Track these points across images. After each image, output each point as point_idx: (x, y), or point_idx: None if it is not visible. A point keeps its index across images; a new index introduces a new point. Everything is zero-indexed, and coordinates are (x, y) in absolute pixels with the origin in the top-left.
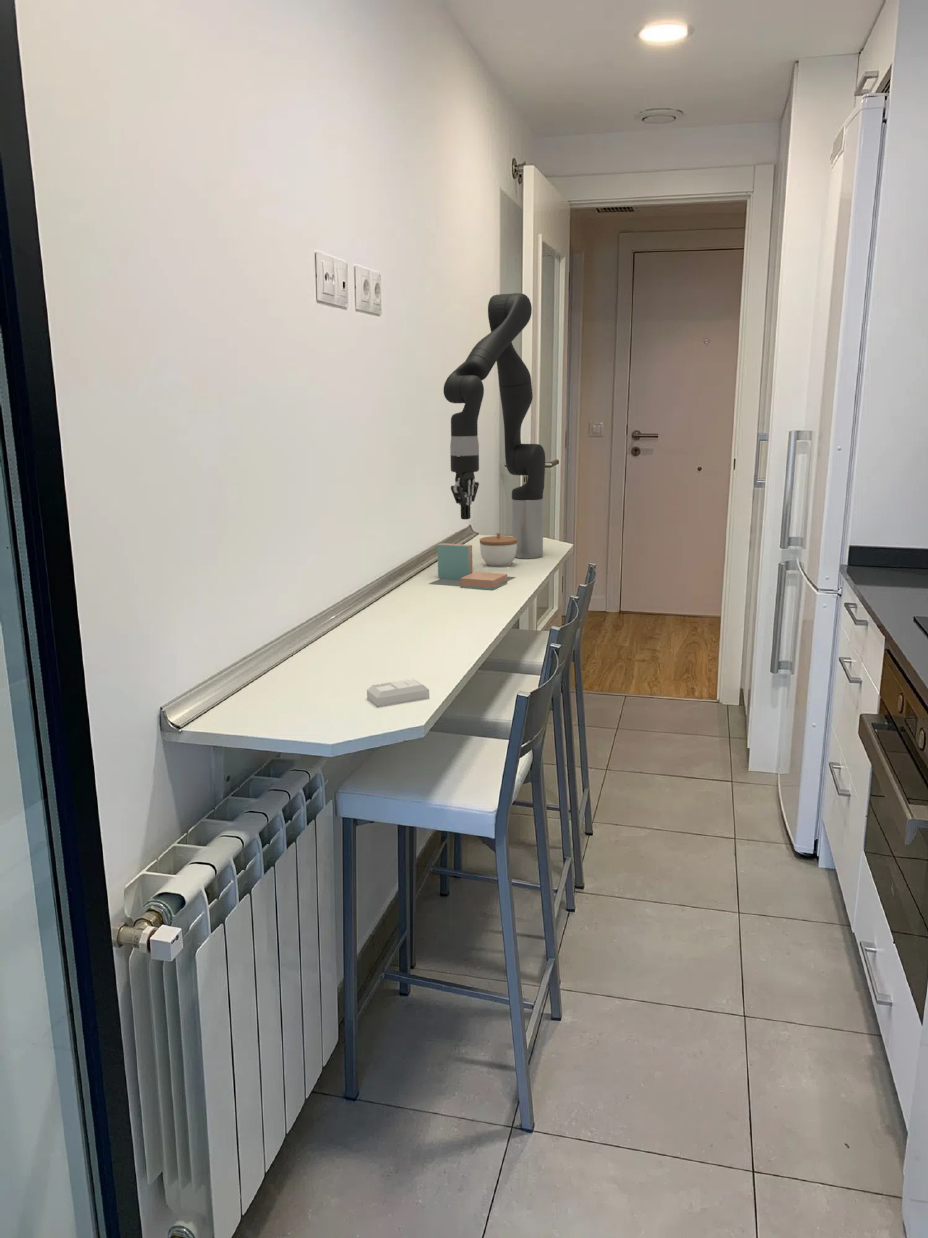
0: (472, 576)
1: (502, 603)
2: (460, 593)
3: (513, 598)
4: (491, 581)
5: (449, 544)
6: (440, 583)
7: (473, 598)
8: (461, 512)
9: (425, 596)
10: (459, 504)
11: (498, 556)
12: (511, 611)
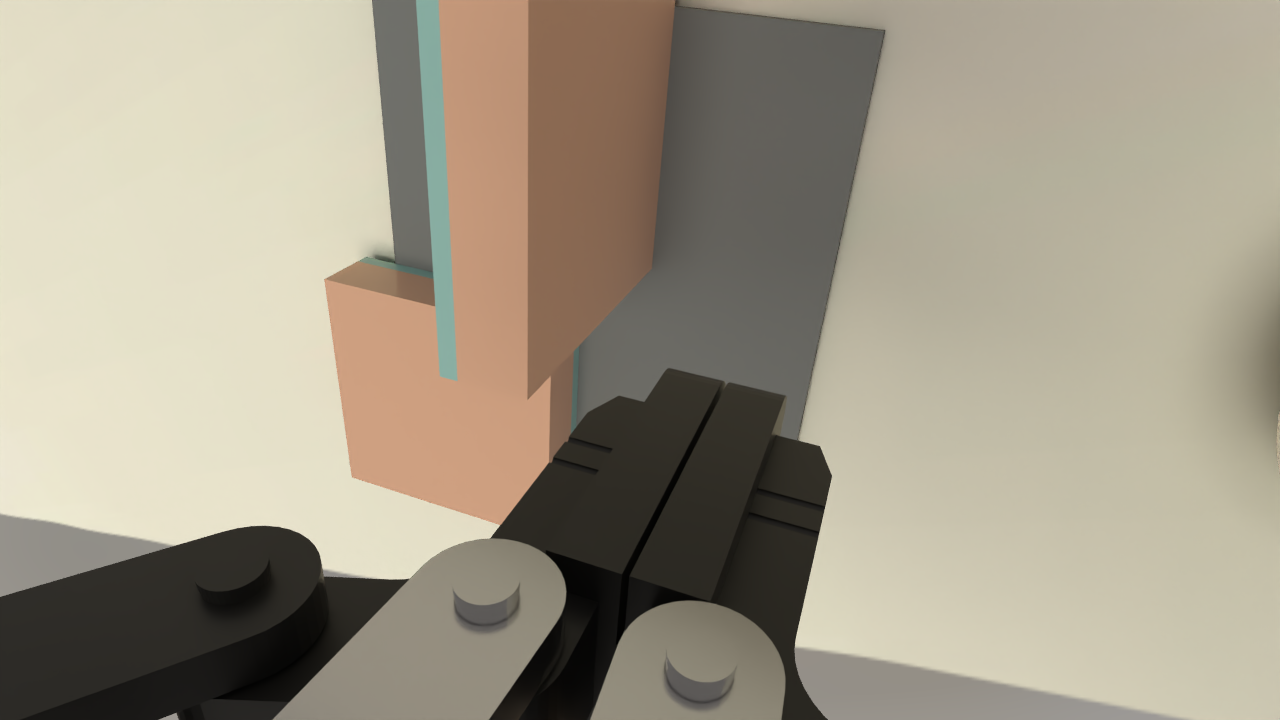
0: (402, 345)
1: (223, 500)
2: (285, 281)
3: (316, 536)
4: (354, 466)
5: (476, 137)
6: (417, 72)
7: (231, 370)
8: (561, 460)
9: (134, 99)
10: (460, 548)
11: (1277, 452)
12: (148, 536)
